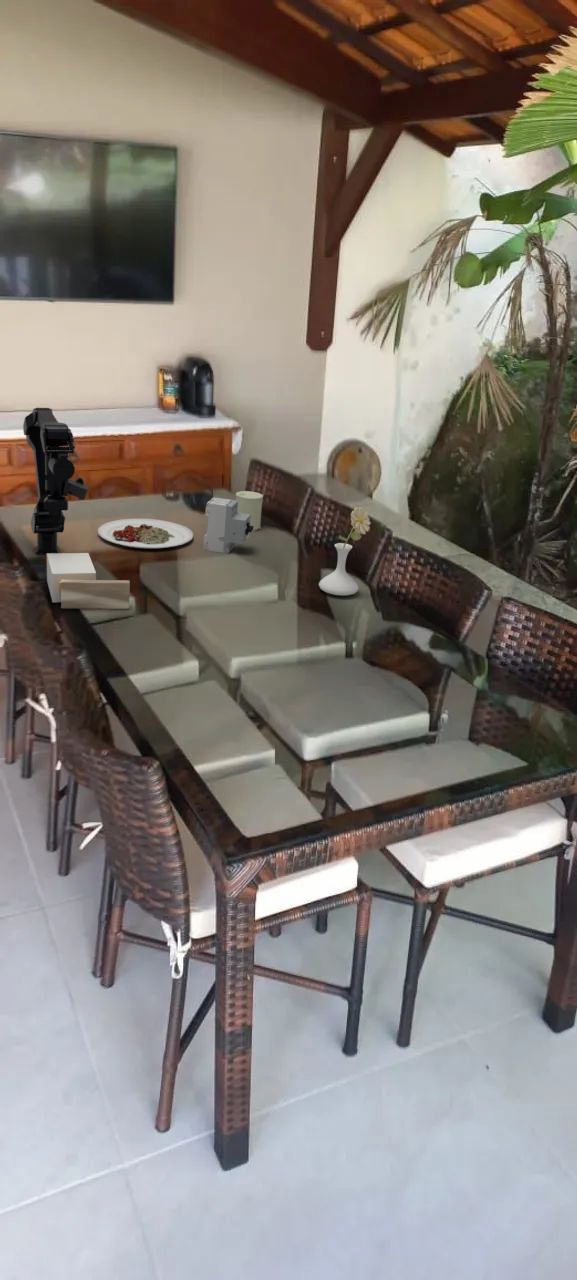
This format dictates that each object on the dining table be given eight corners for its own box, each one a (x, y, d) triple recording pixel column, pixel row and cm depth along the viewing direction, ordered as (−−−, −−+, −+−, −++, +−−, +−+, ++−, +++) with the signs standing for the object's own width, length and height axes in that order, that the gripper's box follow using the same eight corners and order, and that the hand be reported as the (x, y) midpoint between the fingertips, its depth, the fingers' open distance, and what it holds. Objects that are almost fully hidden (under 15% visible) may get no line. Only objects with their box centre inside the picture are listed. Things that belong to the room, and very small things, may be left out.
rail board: (61, 604, 236) (61, 578, 233) (128, 604, 240) (129, 579, 237) (61, 608, 234) (61, 582, 231) (129, 608, 238) (129, 583, 235)
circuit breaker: (247, 556, 285) (251, 509, 279) (203, 549, 287) (205, 502, 281) (253, 549, 292) (256, 503, 286) (209, 542, 294) (212, 497, 288)
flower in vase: (330, 600, 256) (340, 513, 246) (311, 586, 265) (320, 502, 255) (370, 596, 262) (381, 511, 252) (349, 583, 271) (360, 500, 261)
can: (231, 523, 316) (233, 489, 311) (257, 523, 319) (260, 490, 314) (236, 531, 308) (238, 496, 303) (263, 532, 310) (265, 497, 306)
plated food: (211, 539, 299) (212, 529, 298) (151, 559, 275) (151, 548, 274) (140, 518, 313) (141, 508, 311) (77, 536, 289) (77, 525, 288)
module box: (47, 581, 251) (46, 553, 248) (88, 580, 254) (88, 552, 251) (52, 603, 237) (52, 573, 234) (95, 601, 241) (96, 572, 237)
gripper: (87, 480, 244) (86, 537, 250) (86, 464, 260) (85, 517, 266) (43, 479, 241) (44, 536, 247) (45, 462, 258) (46, 516, 264)
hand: (56, 526), depth 256 cm, fingers closed
